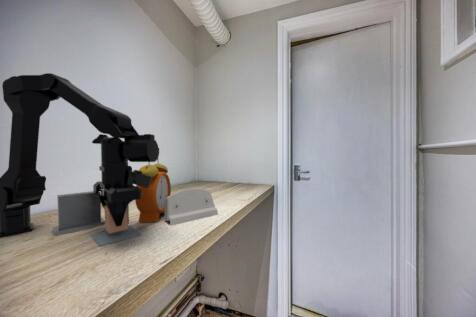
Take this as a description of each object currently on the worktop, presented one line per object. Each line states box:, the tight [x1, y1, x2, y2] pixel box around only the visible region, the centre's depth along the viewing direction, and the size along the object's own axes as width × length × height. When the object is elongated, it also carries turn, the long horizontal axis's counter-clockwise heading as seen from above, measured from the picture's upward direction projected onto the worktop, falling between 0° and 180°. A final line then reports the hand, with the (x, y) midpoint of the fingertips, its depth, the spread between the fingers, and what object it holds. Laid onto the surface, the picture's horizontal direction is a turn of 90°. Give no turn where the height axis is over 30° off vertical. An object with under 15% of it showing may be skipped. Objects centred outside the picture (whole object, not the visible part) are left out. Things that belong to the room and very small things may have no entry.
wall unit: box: [52, 190, 105, 237], centre depth 55 cm, size 5×11×10 cm, turn 136°
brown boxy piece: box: [104, 205, 129, 234], centre depth 50 cm, size 4×4×7 cm
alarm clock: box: [134, 158, 172, 223], centre depth 65 cm, size 13×6×20 cm, turn 178°
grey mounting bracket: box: [164, 188, 219, 226], centre depth 65 cm, size 17×5×10 cm, turn 129°
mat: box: [90, 224, 143, 247], centre depth 50 cm, size 9×9×1 cm
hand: (116, 223), depth 50 cm, fingers closed on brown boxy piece, 4 cm apart
